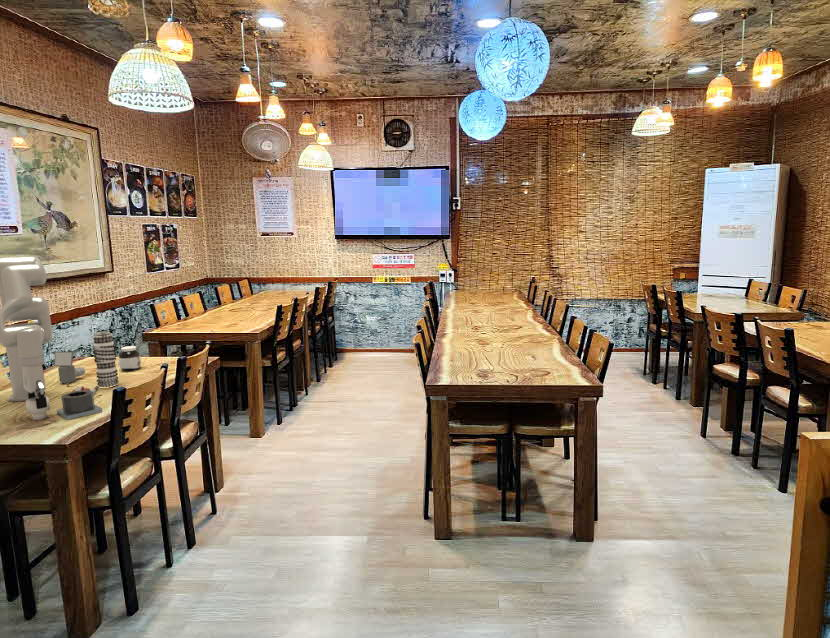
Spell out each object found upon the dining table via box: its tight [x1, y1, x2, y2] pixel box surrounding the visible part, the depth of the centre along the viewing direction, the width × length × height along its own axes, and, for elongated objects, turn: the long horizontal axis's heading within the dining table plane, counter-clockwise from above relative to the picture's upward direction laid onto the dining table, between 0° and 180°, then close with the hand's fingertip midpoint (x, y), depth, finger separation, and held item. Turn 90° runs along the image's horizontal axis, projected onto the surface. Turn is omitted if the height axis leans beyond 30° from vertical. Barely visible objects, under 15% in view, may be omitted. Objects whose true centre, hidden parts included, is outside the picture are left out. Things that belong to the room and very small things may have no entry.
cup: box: [25, 396, 51, 421], centre depth 208 cm, size 7×7×8 cm
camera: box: [53, 351, 86, 385], centre depth 261 cm, size 9×12×15 cm
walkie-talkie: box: [71, 385, 99, 396], centre depth 237 cm, size 9×4×20 cm
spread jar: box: [117, 345, 142, 372], centre depth 282 cm, size 12×11×12 cm
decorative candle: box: [92, 330, 120, 387], centre depth 250 cm, size 9×9×25 cm
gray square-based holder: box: [56, 389, 103, 421], centre depth 214 cm, size 12×12×8 cm
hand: (38, 405), depth 208 cm, fingers open, 9 cm apart
